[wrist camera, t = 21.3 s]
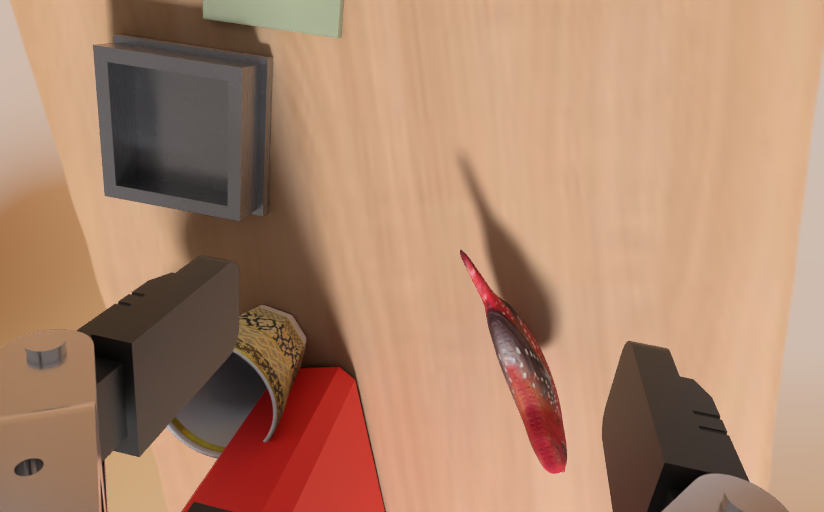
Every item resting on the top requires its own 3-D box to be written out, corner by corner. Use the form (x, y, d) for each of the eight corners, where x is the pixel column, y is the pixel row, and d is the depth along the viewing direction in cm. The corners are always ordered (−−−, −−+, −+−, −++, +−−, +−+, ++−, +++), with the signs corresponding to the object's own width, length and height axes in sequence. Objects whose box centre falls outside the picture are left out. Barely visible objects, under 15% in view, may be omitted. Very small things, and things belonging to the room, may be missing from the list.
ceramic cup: (286, 268, 51) (227, 318, 42) (346, 367, 53) (302, 436, 44) (173, 325, 55) (97, 381, 46) (232, 415, 57) (170, 486, 48)
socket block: (121, 34, 46) (85, 36, 42) (272, 57, 45) (249, 61, 41) (130, 187, 51) (99, 200, 47) (268, 212, 49) (246, 228, 46)
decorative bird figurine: (544, 412, 51) (545, 499, 42) (452, 228, 47) (431, 280, 38) (577, 402, 50) (586, 489, 41) (487, 213, 46) (474, 264, 37)
